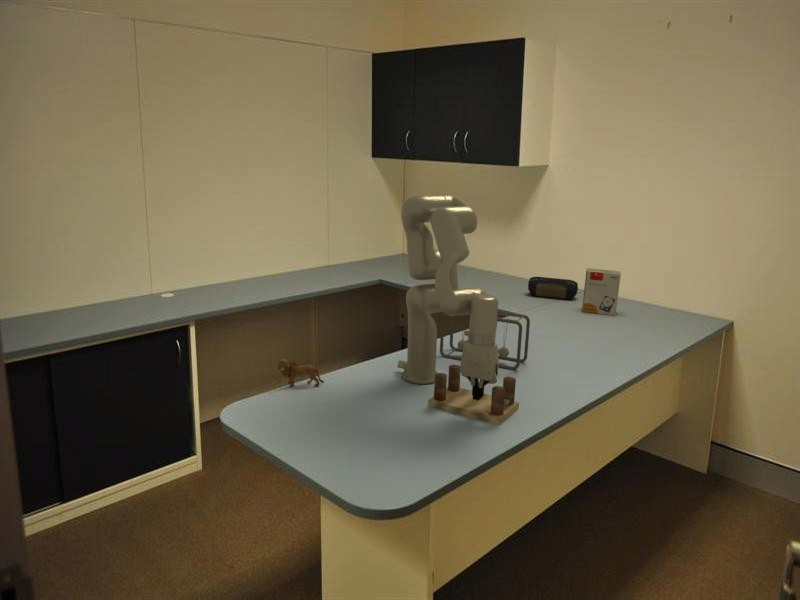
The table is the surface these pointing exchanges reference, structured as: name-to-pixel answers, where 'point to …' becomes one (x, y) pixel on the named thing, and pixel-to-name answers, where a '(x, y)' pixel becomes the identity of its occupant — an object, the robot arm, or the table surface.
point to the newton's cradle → (502, 351)
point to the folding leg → (503, 395)
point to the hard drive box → (601, 291)
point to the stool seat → (465, 399)
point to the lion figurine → (297, 371)
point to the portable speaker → (552, 287)
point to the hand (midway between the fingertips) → (477, 398)
